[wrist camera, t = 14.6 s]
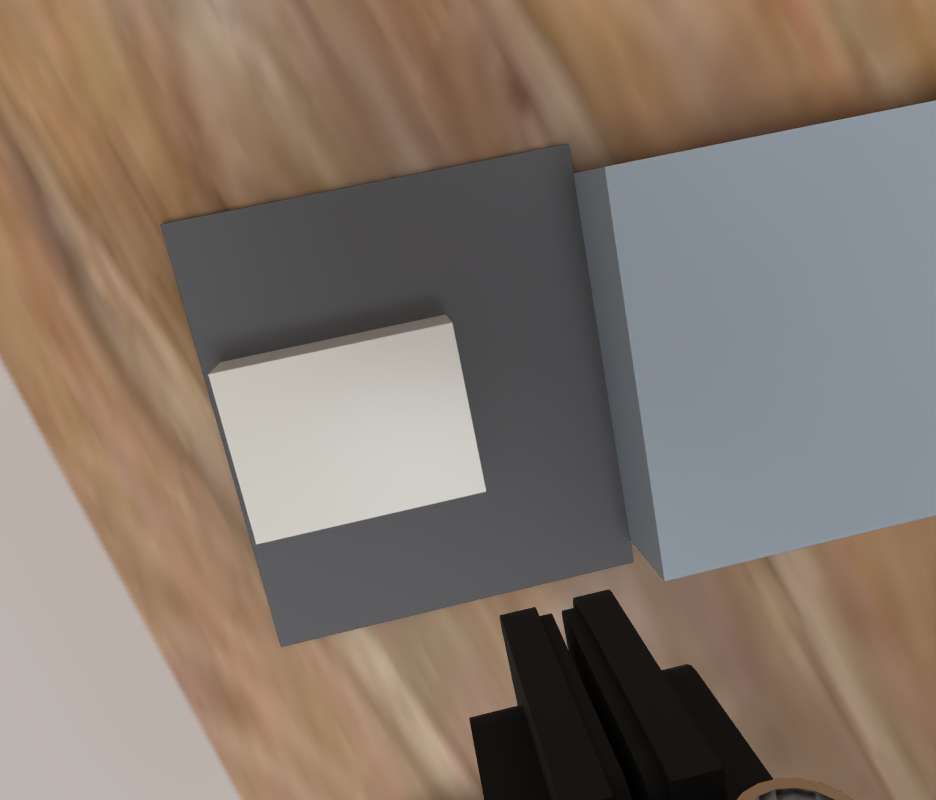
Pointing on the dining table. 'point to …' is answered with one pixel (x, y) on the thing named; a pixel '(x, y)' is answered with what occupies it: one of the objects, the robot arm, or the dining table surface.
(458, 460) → the off-white rectangular block
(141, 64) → the dining table surface
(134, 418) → the dining table surface
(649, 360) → the block
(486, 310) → the mat
